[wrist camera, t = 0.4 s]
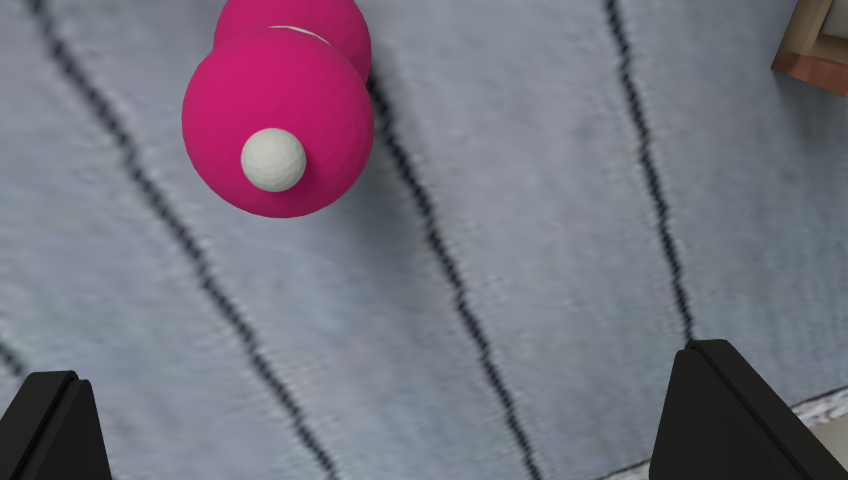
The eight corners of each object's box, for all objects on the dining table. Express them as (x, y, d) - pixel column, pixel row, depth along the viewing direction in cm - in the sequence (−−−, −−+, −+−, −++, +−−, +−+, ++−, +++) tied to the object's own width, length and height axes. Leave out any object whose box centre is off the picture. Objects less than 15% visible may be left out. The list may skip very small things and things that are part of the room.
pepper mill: (394, 34, 37) (460, 166, 19) (303, 129, 39) (285, 331, 21) (290, -72, 34) (254, -34, 16) (196, 35, 36) (70, 176, 18)
